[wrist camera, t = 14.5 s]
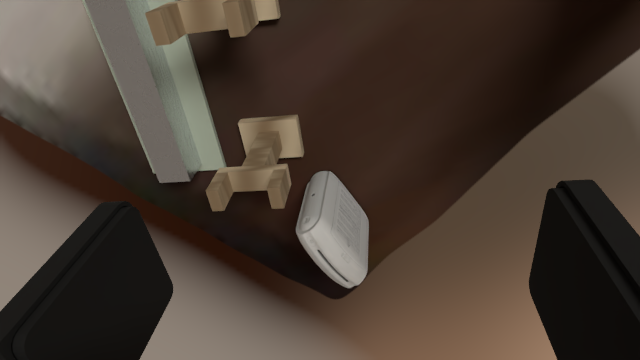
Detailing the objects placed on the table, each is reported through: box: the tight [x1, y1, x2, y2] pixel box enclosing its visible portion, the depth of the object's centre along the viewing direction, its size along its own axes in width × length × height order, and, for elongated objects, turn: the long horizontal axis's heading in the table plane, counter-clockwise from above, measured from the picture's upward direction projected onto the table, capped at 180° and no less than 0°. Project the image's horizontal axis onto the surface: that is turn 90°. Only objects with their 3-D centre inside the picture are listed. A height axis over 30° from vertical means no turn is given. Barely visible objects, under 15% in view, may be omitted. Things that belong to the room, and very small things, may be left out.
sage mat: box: [82, 0, 227, 173], centre depth 47 cm, size 10×24×1 cm, turn 8°
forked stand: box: [145, 0, 304, 211], centre depth 40 cm, size 7×21×13 cm, turn 8°
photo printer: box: [296, 171, 369, 288], centre depth 49 cm, size 10×4×12 cm, turn 36°
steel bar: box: [85, 0, 202, 183], centre depth 45 cm, size 4×22×4 cm, turn 8°
